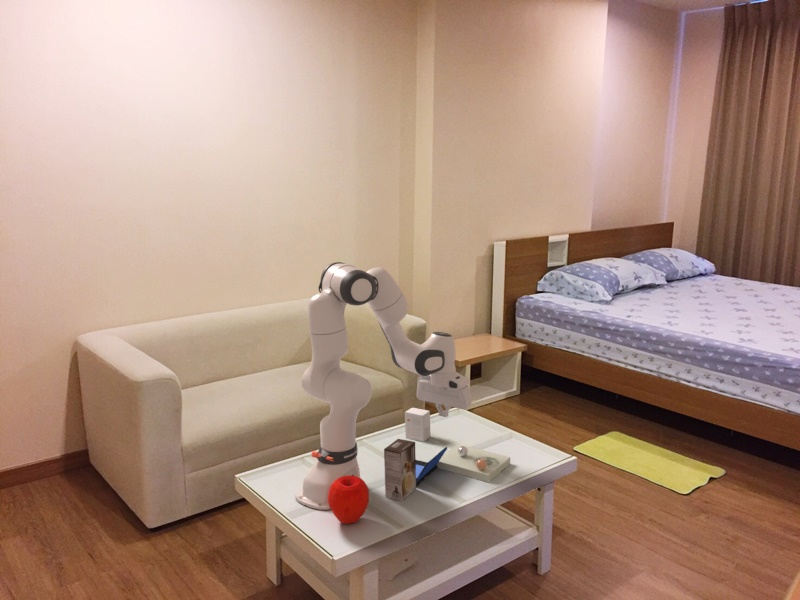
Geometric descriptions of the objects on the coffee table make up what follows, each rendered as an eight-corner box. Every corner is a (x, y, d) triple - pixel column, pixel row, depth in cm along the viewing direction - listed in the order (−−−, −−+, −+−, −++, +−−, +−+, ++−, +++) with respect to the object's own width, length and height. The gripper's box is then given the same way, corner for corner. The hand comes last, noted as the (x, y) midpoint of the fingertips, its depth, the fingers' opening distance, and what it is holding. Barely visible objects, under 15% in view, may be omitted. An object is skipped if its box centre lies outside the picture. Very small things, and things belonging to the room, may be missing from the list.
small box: (430, 437, 243) (430, 410, 241) (423, 442, 238) (423, 415, 236) (412, 432, 247) (412, 406, 245) (405, 437, 242) (404, 411, 240)
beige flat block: (488, 482, 206) (488, 475, 206) (435, 467, 218) (435, 460, 217) (510, 463, 219) (510, 457, 219) (459, 450, 230) (459, 444, 230)
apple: (341, 537, 177) (340, 492, 174) (321, 519, 186) (319, 476, 183) (377, 523, 183) (376, 480, 181) (355, 506, 193) (354, 465, 190)
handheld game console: (413, 463, 222) (413, 437, 220) (448, 471, 215) (448, 445, 213) (390, 481, 209) (390, 455, 207) (427, 491, 202) (426, 463, 200)
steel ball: (464, 459, 218) (464, 449, 217) (455, 456, 220) (455, 447, 219) (469, 455, 221) (469, 445, 220) (460, 453, 223) (460, 443, 222)
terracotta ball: (483, 472, 208) (483, 462, 207) (474, 470, 210) (474, 460, 209) (488, 468, 211) (488, 458, 210) (479, 466, 213) (479, 456, 212)
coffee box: (399, 484, 206) (398, 437, 203) (416, 488, 203) (416, 441, 200) (384, 497, 198) (383, 448, 195) (402, 501, 195) (401, 452, 192)
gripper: (412, 375, 223) (413, 413, 226) (464, 385, 211) (464, 424, 214) (422, 370, 228) (423, 407, 231) (473, 380, 216) (473, 418, 219)
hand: (443, 415), depth 222 cm, fingers closed
